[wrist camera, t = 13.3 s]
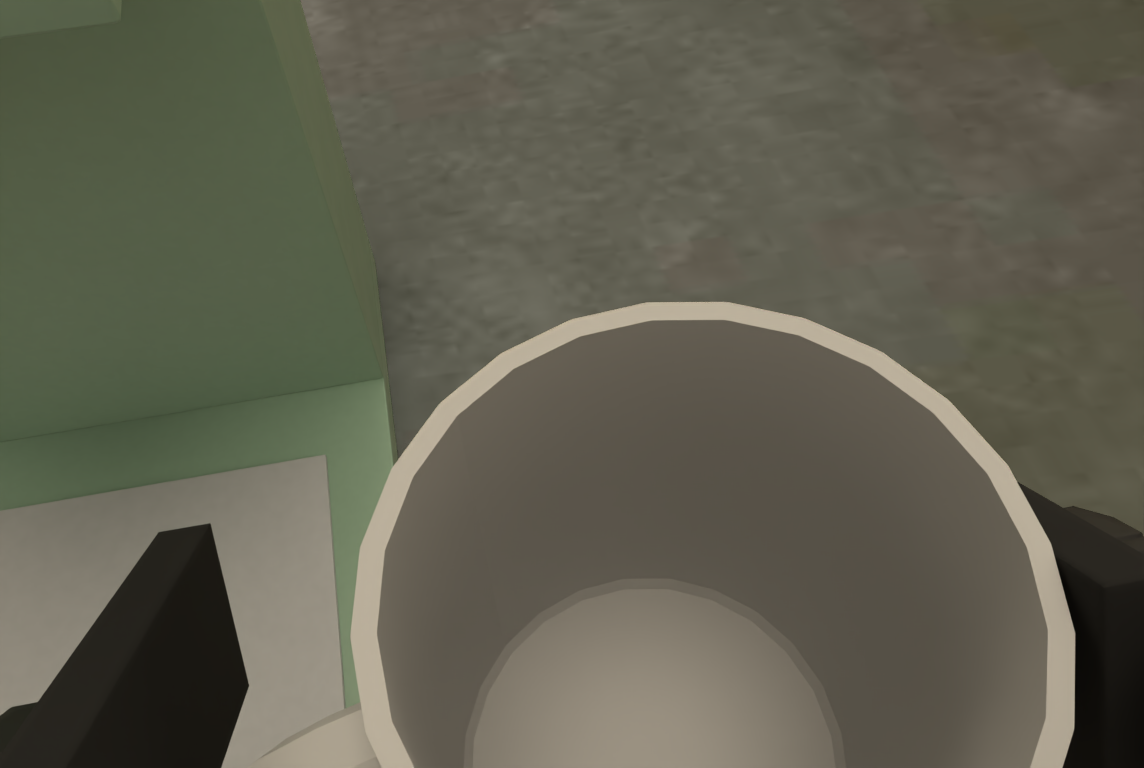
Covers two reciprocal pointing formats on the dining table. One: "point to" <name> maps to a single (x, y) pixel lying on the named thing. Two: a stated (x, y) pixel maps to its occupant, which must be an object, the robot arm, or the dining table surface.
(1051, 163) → the dining table surface
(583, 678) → the cup
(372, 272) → the coffee maker
